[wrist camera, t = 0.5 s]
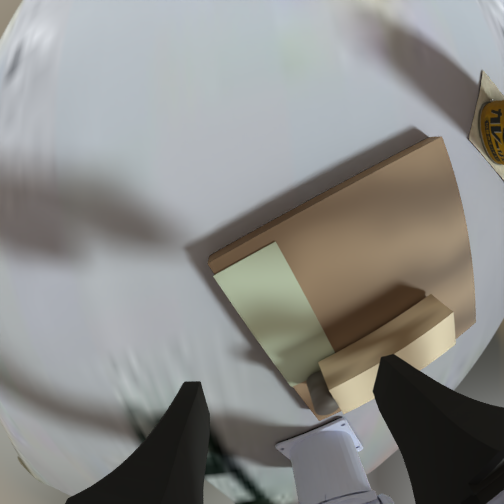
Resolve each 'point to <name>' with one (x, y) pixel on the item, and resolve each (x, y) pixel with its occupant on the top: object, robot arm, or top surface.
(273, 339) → the stool seat
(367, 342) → the folding leg
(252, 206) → the top surface
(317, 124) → the top surface
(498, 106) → the condiment
